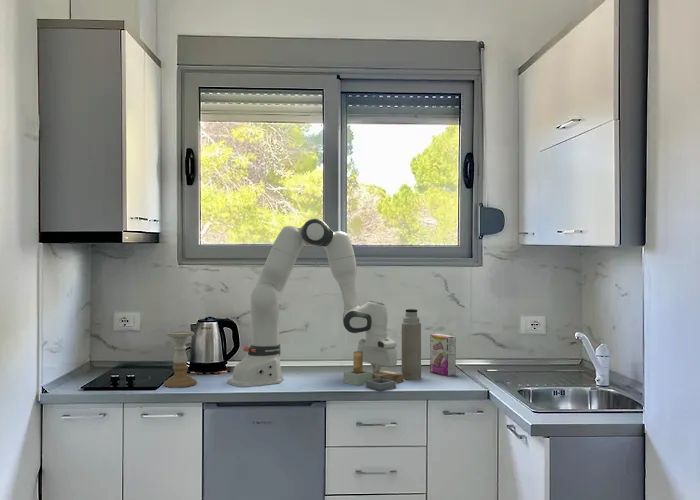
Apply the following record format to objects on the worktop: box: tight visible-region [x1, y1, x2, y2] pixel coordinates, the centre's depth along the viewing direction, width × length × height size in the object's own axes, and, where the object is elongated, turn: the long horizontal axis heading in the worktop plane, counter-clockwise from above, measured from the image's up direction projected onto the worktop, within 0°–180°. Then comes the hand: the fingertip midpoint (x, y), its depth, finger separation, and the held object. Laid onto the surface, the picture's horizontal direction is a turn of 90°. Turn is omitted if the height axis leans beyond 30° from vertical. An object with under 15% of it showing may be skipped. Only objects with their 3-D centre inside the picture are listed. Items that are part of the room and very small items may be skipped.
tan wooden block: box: [372, 370, 396, 380], centre depth 248 cm, size 9×7×3 cm
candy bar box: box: [429, 333, 457, 377], centre depth 262 cm, size 11×5×16 cm, turn 34°
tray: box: [365, 378, 397, 392], centre depth 234 cm, size 8×8×2 cm
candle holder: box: [163, 330, 197, 388], centre depth 240 cm, size 12×12×20 cm
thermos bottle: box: [401, 308, 422, 380], centre depth 254 cm, size 8×8×28 cm
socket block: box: [343, 370, 373, 386], centre depth 244 cm, size 8×8×4 cm
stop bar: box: [380, 372, 405, 384], centre depth 244 cm, size 10×3×3 cm, turn 131°
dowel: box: [352, 350, 364, 374], centre depth 244 cm, size 4×4×12 cm
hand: (375, 375), depth 251 cm, fingers closed
